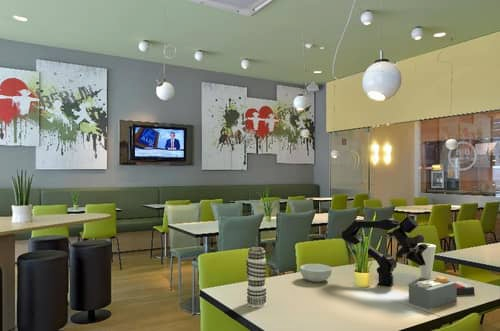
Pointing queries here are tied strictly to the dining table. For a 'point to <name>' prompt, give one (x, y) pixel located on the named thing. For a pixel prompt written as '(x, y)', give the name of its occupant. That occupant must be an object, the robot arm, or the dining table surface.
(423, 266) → the cup
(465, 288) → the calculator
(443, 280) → the orange button
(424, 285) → the grey button
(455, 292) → the button console
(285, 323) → the dining table surface
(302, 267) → the cereal bowl
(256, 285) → the decorative candle
